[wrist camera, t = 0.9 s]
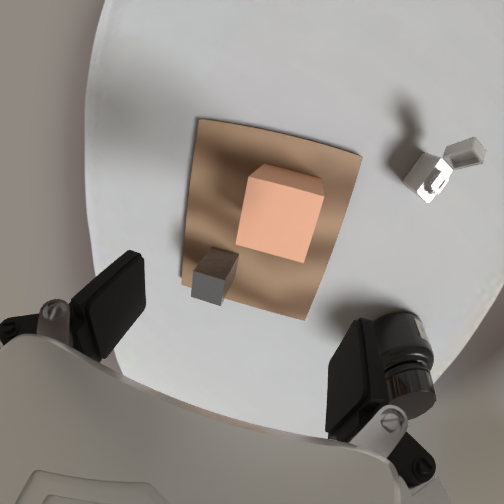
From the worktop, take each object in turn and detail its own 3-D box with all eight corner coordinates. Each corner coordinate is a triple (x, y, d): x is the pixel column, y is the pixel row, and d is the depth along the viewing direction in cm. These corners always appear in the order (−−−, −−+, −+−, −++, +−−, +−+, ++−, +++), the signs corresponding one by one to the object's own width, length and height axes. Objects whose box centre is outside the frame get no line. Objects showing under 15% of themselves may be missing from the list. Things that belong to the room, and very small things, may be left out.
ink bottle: (410, 357, 33) (424, 424, 23) (356, 358, 35) (359, 430, 25) (431, 307, 29) (459, 377, 18) (370, 307, 31) (383, 385, 20)
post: (212, 246, 30) (193, 270, 25) (239, 254, 30) (224, 280, 25) (208, 270, 32) (191, 296, 27) (234, 277, 31) (220, 305, 27)
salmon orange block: (264, 163, 25) (248, 176, 19) (321, 178, 24) (324, 196, 18) (252, 216, 27) (235, 244, 22) (306, 231, 27) (303, 263, 21)
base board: (203, 119, 25) (199, 119, 24) (360, 155, 23) (362, 157, 22) (185, 279, 35) (181, 284, 34) (305, 314, 33) (304, 320, 32)
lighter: (413, 192, 24) (445, 218, 17) (401, 181, 23) (432, 204, 16) (449, 141, 20) (490, 152, 13) (438, 130, 20) (478, 136, 13)
